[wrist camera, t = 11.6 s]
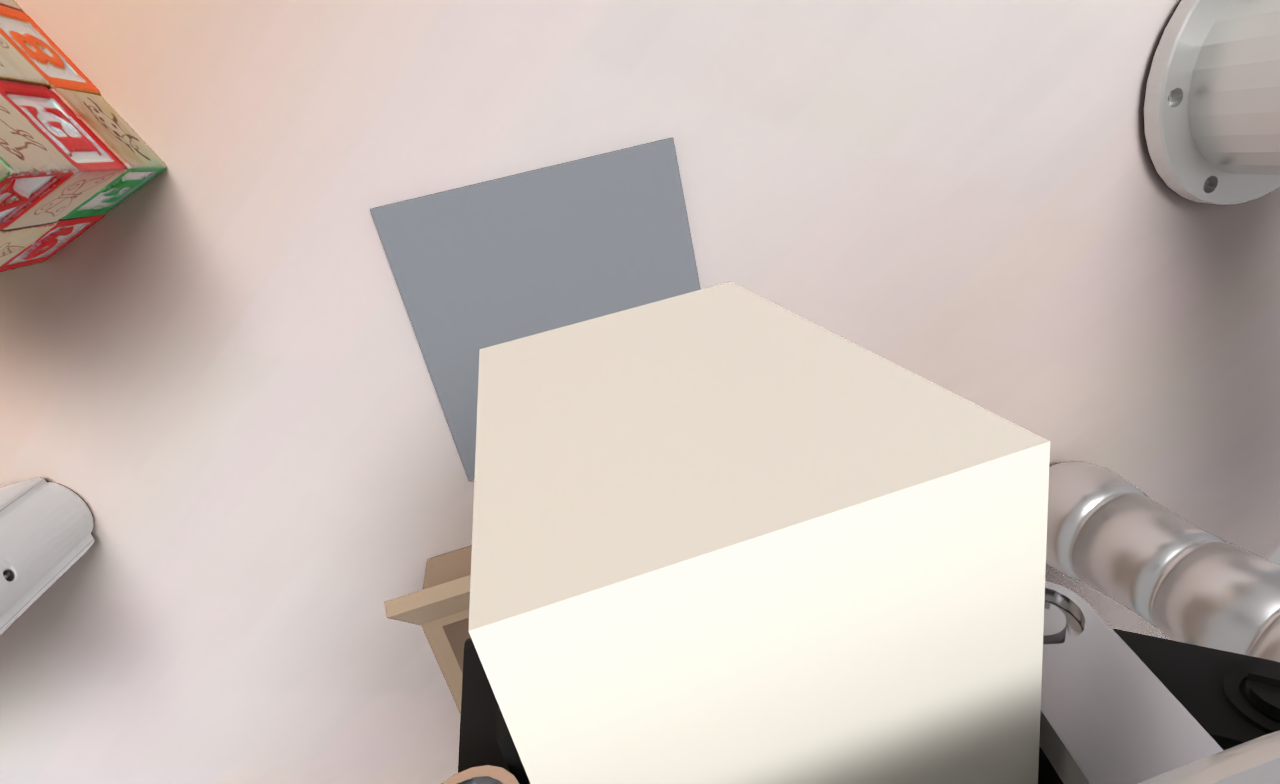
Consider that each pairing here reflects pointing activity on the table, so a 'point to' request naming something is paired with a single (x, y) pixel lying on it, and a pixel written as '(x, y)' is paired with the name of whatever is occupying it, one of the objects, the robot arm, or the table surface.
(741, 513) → the box
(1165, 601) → the plastic bottle
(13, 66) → the stack of blocks
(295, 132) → the table surface
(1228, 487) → the table surface
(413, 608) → the carton
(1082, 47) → the table surface
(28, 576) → the photo printer
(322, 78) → the table surface
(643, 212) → the mat
